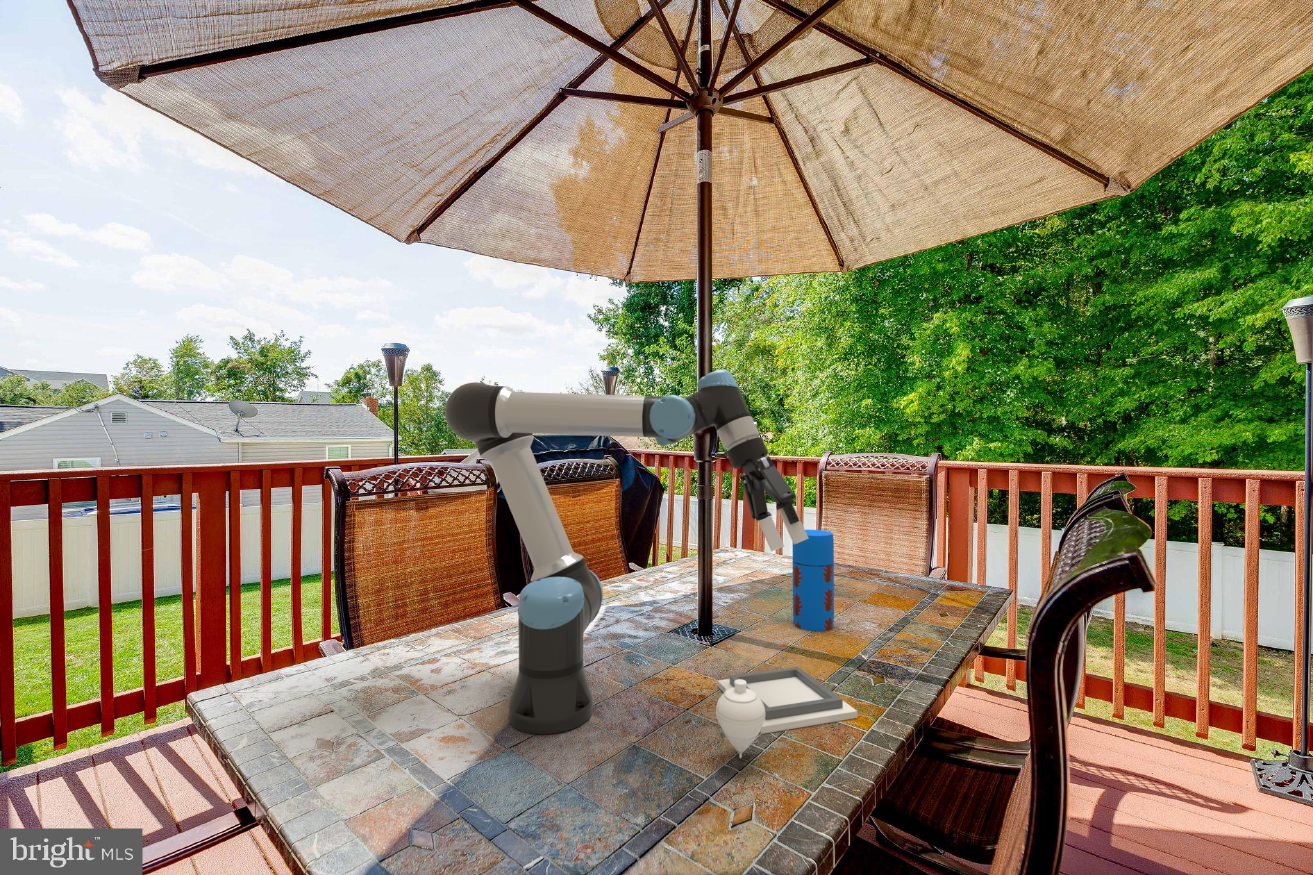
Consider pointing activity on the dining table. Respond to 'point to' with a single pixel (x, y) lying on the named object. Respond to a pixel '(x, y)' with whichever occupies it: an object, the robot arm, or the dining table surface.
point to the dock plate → (792, 699)
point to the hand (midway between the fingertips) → (788, 545)
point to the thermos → (814, 581)
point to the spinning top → (740, 715)
